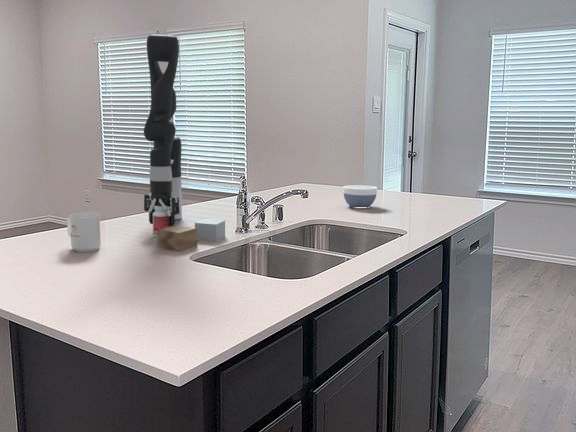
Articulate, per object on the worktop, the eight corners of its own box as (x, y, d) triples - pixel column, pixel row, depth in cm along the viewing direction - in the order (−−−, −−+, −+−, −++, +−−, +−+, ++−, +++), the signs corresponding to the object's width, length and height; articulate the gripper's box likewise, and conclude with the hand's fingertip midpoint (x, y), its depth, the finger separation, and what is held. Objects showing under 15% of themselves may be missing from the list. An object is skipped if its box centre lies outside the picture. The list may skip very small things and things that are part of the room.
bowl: (381, 206, 279) (382, 186, 277) (367, 211, 265) (368, 190, 264) (351, 203, 287) (352, 184, 285) (336, 207, 274) (337, 187, 272)
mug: (106, 248, 188) (105, 214, 186) (85, 254, 181) (83, 218, 179) (80, 243, 194) (78, 210, 192) (58, 249, 186) (56, 214, 184)
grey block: (194, 239, 202) (194, 222, 201) (204, 235, 210) (204, 218, 209) (216, 241, 200) (216, 224, 199) (225, 236, 208) (225, 220, 207)
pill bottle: (173, 237, 206) (173, 206, 204) (156, 238, 203) (156, 207, 201) (166, 233, 211) (166, 203, 209) (150, 235, 208) (149, 204, 206)
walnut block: (157, 247, 191) (157, 229, 189) (176, 242, 198) (175, 225, 197) (179, 251, 186) (178, 232, 185) (197, 246, 194) (196, 228, 193)
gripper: (137, 178, 204) (139, 224, 206) (169, 181, 197) (170, 228, 199) (153, 176, 210) (154, 221, 213) (183, 179, 203) (184, 225, 206)
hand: (161, 224), depth 206 cm, fingers open, 8 cm apart
